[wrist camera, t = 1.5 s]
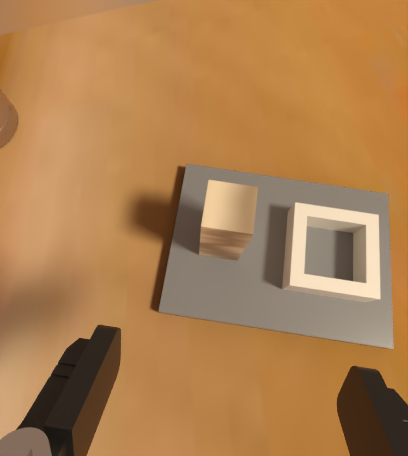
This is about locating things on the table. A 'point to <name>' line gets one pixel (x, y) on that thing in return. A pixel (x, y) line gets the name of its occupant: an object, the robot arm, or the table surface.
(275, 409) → the table surface
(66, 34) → the table surface
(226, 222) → the block
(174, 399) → the table surface
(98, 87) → the table surface
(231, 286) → the jig board
